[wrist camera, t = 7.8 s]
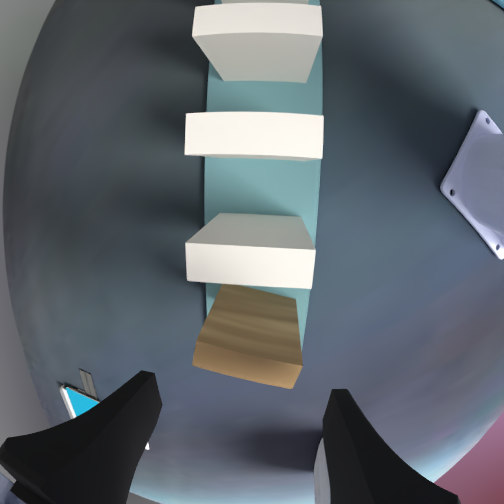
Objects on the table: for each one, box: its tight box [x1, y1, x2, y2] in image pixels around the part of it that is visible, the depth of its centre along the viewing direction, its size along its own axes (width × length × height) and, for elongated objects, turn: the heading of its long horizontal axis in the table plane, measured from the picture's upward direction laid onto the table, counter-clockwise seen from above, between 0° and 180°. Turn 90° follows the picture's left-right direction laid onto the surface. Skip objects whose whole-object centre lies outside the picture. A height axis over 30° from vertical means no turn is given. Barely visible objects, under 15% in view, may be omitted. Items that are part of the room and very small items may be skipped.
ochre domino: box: [192, 284, 303, 389], centre depth 16 cm, size 2×5×7 cm, turn 76°
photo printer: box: [314, 438, 330, 504], centre depth 19 cm, size 10×4×12 cm, turn 4°
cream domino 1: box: [192, 3, 323, 83], centre depth 11 cm, size 2×5×7 cm, turn 88°
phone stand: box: [59, 370, 149, 450], centre depth 27 cm, size 20×12×2 cm, turn 170°
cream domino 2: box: [185, 112, 324, 161], centre depth 13 cm, size 2×5×7 cm, turn 88°
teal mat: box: [204, 0, 322, 350], centre depth 16 cm, size 28×7×1 cm, turn 178°
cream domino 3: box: [186, 213, 316, 289], centre depth 14 cm, size 2×5×7 cm, turn 88°
